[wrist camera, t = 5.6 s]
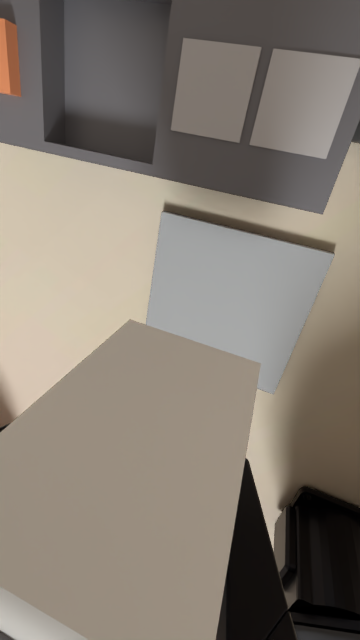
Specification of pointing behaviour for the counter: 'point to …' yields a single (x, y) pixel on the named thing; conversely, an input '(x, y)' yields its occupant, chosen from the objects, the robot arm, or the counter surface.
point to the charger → (125, 493)
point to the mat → (234, 290)
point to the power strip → (188, 90)
